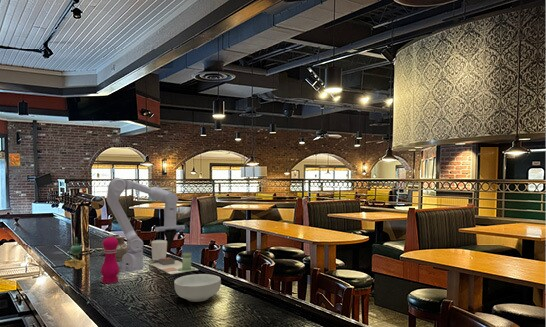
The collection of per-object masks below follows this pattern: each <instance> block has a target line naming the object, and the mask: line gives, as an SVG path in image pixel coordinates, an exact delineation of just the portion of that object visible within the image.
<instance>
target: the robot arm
mask: <svg viewBox="0 0 546 327" xmlns="http://www.w3.org/2000/svg"><path fill="white" fill-rule="evenodd" d="M125 190H135V191H138V192H142V193H145V194H148V196H149V198H150V199H153V200H156V201H159V202H162V203H164V209H163V210H164V212H163V214H164V215H163V218H164V221H163V223H164V224H163V226H155V227H154V231H155V232H163V235H164V236H165V240H166V241H167V246H169V247H170V246H173V243H174V239H175V237H176V236H177V232H178V231H179V230H185V229H186V225H184V224H180V225H179V224H177V212H178V211H177V209H178V208H177V203H178V202H179V197H178V195H177V194H176V193H174V192H171V191H170V190H165V189H163V188H161V186H158V185H157V186H152V187H149V186H146V185H144V184H141V183H139V182H137V181H134V180H129V179H124V178H120V177H114V178H113V179H112V180H110V182H109V184H108V185H107V192H106V193H107V194H106V202H107V205H108V206H109V208H110V210H111V212H112V214H113V216H114V217H115V219H116V221H117V223H118V225H119V227H120V229H121V231H122V232H123V234H124V237H125V239H126V245H128V247H129V248H128V249H127V252H126V254H124V255H123V257H122V261H121V271H125V272H135V271H137V270H138V271H139V270H141V269H143V267H144V266H143V264H144V262H143V260H144V256H143V254H144V249H143V247H144V241H143V240H142V239H141V238H140V237H139V236H138V235H137V232H136V231H135V230H134V227H133V225H132V223H131V222H130V219H129V218H128V216H127V214H126V212H125V211H124V209H123V207H122V205H121V203H120V201H119V199H120V197H121V196H122V193H123V192H124V191H125Z"/></svg>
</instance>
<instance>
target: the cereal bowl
mask: <svg viewBox="0 0 546 327" xmlns="http://www.w3.org/2000/svg"><path fill="white" fill-rule="evenodd" d="M173 282H174V283H173V284H174V290H175V293H176V295H178V297H180V298H182V299H185V300H187V301H189V302H193V303H195V302H197V303H198V302H200V303H201V302H205V301H207V300H209V298H211V297H214V296H215V295H217V293H218V292H219V291H220V288H221V285H222V280H221V277H220V276H218V275H215V274H209V273H198V274H197V273H196V274H187V275H183V276H180V277H178V278H175V280H173Z"/></svg>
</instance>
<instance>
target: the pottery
mask: <svg viewBox="0 0 546 327" xmlns="http://www.w3.org/2000/svg"><path fill="white" fill-rule="evenodd" d="M113 237H114V238H116V239H117V240H118V246H117V247H116V249H117V252H116V261H117V262H122V257H123V255H124V254H126V252H127V249H128V248H129V247H128V245H127V243H125V239H126V237H125V236H121V235H119V234H113ZM106 238H109V236H108V235H107V237H106ZM101 245H102V249H103V250H104V249H105V248H104V247H103V243H102V244H101Z"/></svg>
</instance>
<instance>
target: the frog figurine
mask: <svg viewBox="0 0 546 327" xmlns="http://www.w3.org/2000/svg"><path fill="white" fill-rule="evenodd" d="M78 240H79V239H78V237H77V236H76V237H75V241H74V243H71V244H70V245H69V247H70V250H68V251H67V257H66V260H64V265H65V266H66V267H70V268H74V269H75V270H79V269H80V268H81V269H82V268H84V267H85V266H86V265H87V262H85V261H84V260H79V259H77V258H80V254H81V253H83V254H84V256H86V253H85V252H84V251H83V250H82V249H83V248H84V244H83V242H81V243H78ZM70 254H72V255H73V256H74V258H72V256H71V255H70ZM76 256H77V258H76ZM81 269H80V270H81Z"/></svg>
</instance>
